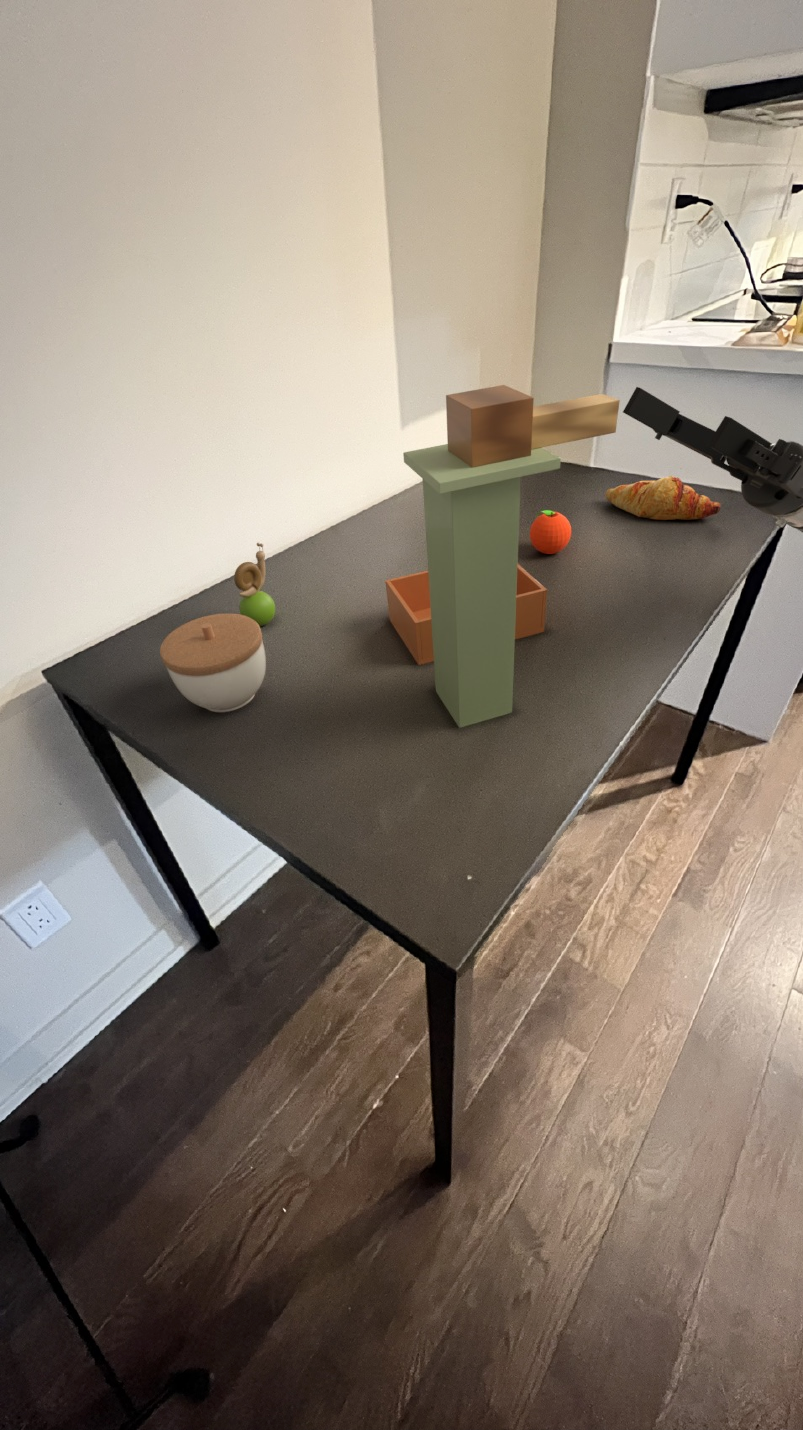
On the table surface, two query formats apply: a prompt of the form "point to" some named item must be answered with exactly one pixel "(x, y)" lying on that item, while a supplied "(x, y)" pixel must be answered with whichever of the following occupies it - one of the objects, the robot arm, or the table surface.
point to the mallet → (520, 423)
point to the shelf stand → (473, 575)
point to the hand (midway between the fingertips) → (671, 414)
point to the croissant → (662, 500)
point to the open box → (414, 610)
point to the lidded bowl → (216, 660)
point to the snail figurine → (254, 590)
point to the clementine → (550, 532)
